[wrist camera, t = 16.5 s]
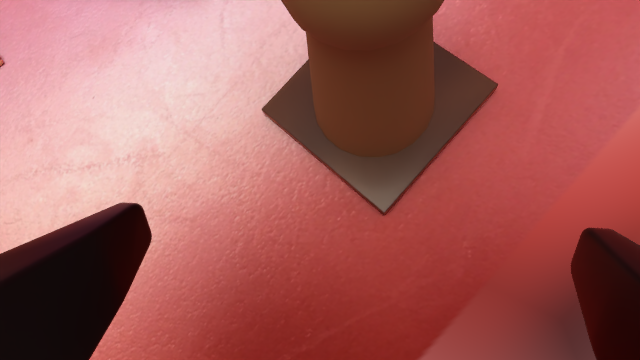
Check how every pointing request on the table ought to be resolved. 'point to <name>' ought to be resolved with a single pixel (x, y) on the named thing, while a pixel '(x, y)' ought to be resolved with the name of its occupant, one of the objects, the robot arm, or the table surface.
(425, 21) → the cork
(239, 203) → the table surface
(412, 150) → the dark mat
